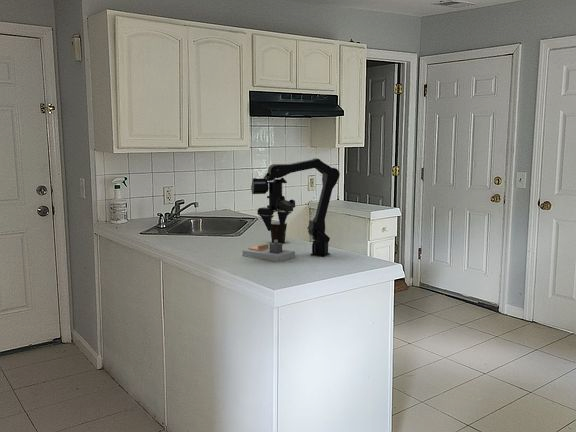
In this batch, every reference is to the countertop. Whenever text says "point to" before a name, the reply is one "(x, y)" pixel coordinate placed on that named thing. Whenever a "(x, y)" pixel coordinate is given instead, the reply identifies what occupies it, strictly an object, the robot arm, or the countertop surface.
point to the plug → (275, 247)
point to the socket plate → (269, 254)
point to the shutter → (259, 247)
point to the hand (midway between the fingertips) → (275, 229)
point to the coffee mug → (278, 232)
